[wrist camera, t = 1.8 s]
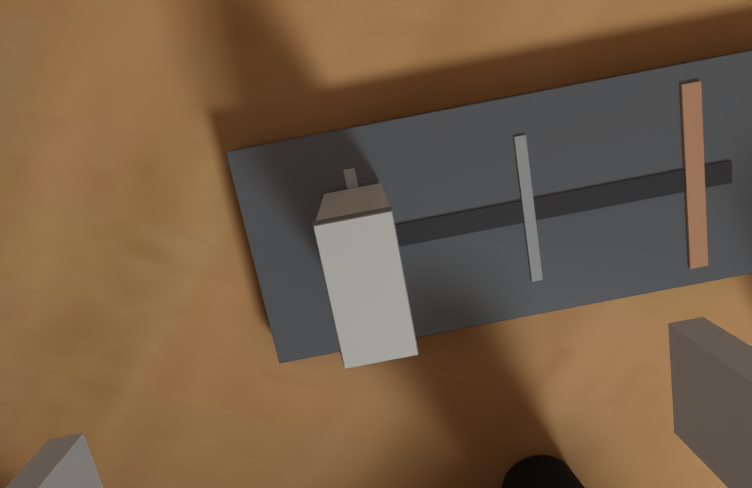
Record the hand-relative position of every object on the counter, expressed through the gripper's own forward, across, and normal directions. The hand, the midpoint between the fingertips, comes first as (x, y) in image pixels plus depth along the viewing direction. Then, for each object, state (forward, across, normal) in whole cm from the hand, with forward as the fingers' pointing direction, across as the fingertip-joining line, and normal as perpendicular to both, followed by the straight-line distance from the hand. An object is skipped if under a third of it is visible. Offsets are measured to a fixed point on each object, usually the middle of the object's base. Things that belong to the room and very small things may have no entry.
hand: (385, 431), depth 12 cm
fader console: (+20, +9, 0) cm, 22 cm away
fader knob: (+18, 0, 0) cm, 18 cm away
